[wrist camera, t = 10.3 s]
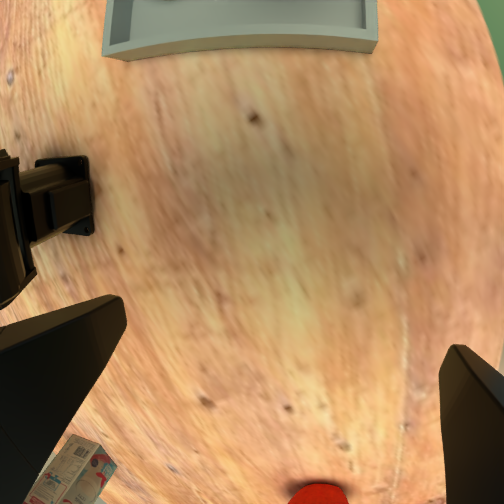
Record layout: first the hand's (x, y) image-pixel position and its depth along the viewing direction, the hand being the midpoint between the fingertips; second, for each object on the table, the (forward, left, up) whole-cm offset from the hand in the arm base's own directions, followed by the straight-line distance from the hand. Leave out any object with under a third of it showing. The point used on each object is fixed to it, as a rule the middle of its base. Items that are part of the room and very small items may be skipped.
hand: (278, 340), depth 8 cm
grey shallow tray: (-5, +16, -13) cm, 21 cm away
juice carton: (-30, -43, -13) cm, 54 cm away
